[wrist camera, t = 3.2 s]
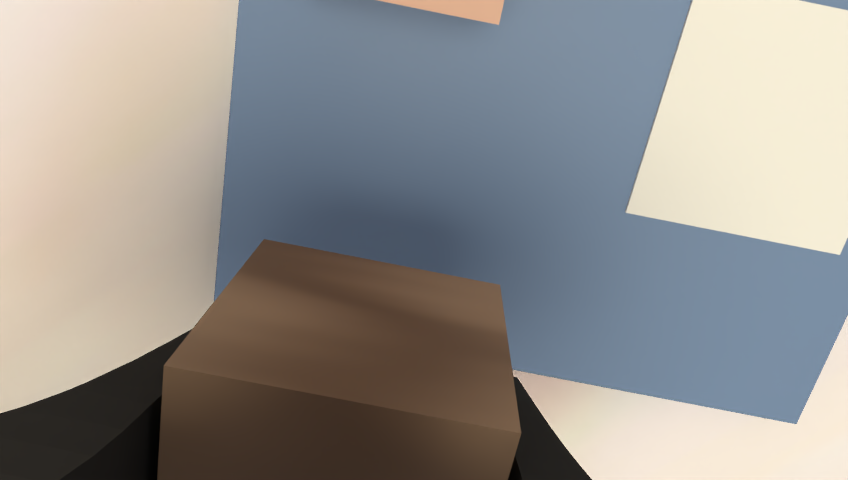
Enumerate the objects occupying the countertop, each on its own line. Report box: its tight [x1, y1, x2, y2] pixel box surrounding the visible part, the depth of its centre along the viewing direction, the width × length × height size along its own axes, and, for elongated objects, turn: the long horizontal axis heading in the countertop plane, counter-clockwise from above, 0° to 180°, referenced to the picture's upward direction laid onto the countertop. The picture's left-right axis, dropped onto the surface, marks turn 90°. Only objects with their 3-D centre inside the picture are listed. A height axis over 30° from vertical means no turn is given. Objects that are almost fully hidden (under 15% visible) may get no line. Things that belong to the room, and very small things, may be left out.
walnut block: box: [157, 239, 521, 480], centre depth 11 cm, size 4×4×4 cm
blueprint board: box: [214, 0, 848, 424], centre depth 18 cm, size 18×14×1 cm
